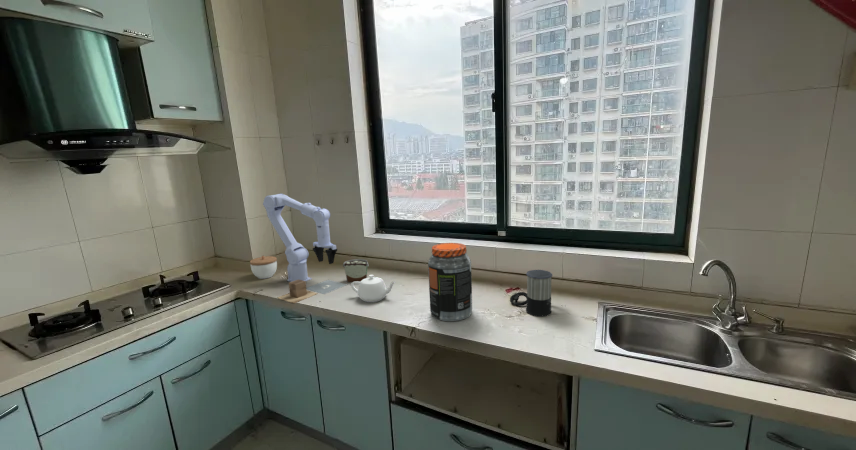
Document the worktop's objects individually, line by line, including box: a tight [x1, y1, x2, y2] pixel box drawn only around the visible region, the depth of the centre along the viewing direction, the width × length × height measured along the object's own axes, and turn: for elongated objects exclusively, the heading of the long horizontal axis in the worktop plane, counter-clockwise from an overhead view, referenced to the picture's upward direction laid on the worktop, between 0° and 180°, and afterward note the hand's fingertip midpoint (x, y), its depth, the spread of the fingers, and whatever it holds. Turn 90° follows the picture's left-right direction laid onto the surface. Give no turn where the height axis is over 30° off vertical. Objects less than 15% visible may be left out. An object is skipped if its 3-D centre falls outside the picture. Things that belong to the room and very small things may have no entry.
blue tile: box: [306, 279, 348, 295], centre depth 168 cm, size 14×14×1 cm
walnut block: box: [288, 279, 308, 298], centre depth 158 cm, size 5×5×6 cm
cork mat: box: [277, 290, 319, 305], centre depth 158 cm, size 12×12×1 cm
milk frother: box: [509, 269, 553, 317], centre depth 136 cm, size 14×16×15 cm
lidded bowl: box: [249, 255, 278, 280], centre depth 186 cm, size 13×13×11 cm
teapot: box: [350, 274, 396, 303], centre depth 152 cm, size 20×12×10 cm, turn 76°
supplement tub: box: [427, 242, 473, 322], centre depth 133 cm, size 16×16×26 cm
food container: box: [342, 258, 369, 283], centre depth 175 cm, size 12×6×10 cm, turn 84°
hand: (326, 262), depth 173 cm, fingers open, 7 cm apart
